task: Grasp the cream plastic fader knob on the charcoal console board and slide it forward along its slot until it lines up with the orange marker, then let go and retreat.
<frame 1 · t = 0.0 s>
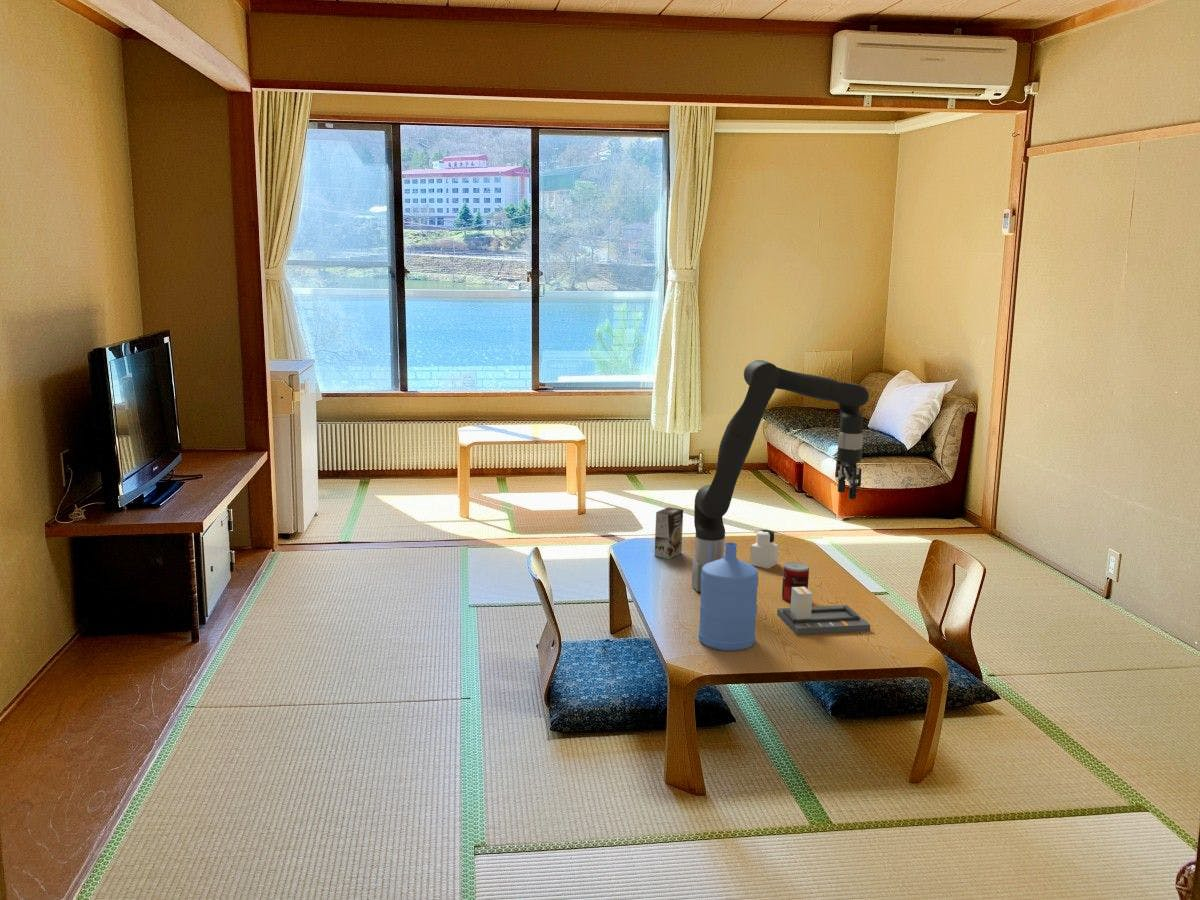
hand: (846, 495, 324), 29 cm above the table, fingers open, 8 cm apart
coffee box: (668, 555, 356), on the table
fader: (801, 603, 292), point 6 cm above the table, slide at 0.0 cm
canned food: (794, 599, 314), on the table
medicine bottle: (763, 565, 347), on the table
water jug: (726, 641, 280), on the table
console: (822, 622, 295), on the table
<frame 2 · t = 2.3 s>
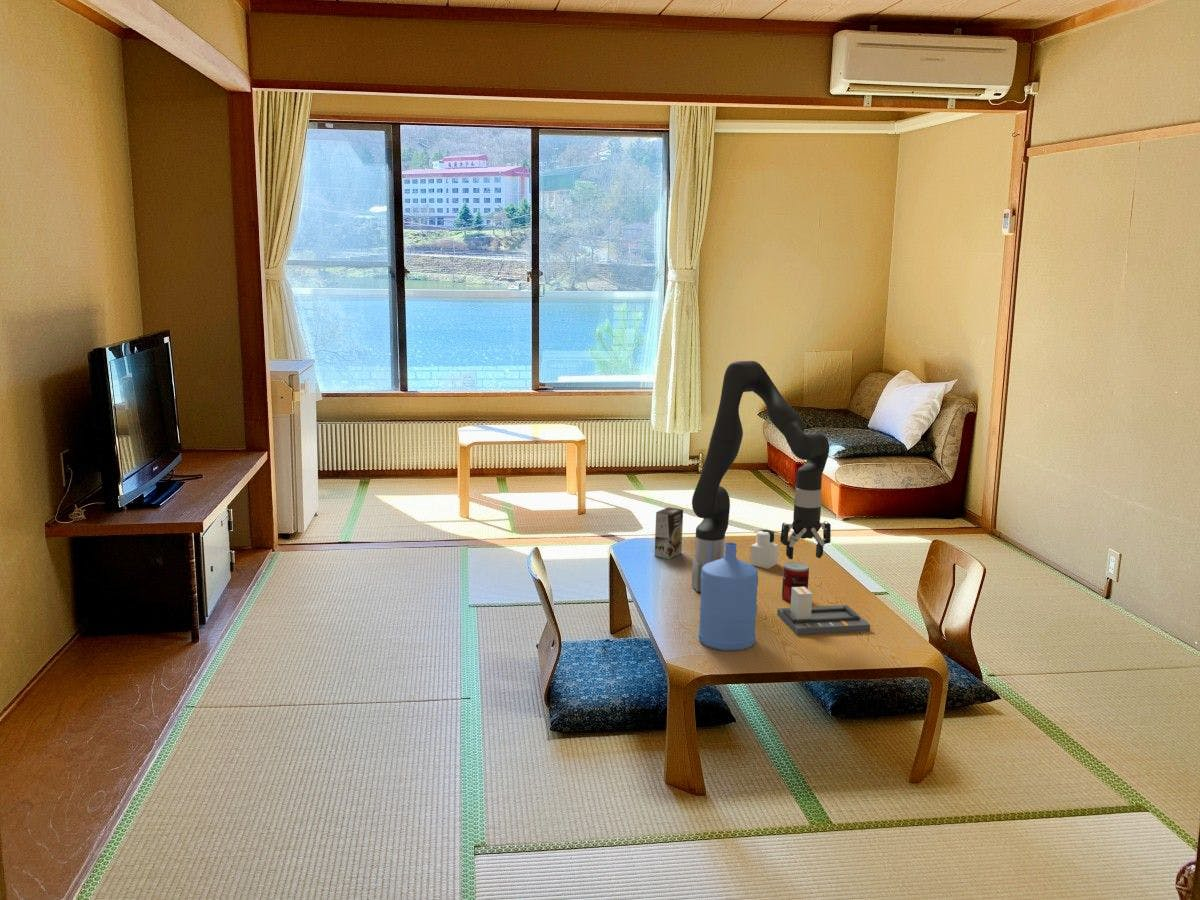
hand: (804, 558, 289), 20 cm above the table, fingers open, 8 cm apart
nothing on the table moved.
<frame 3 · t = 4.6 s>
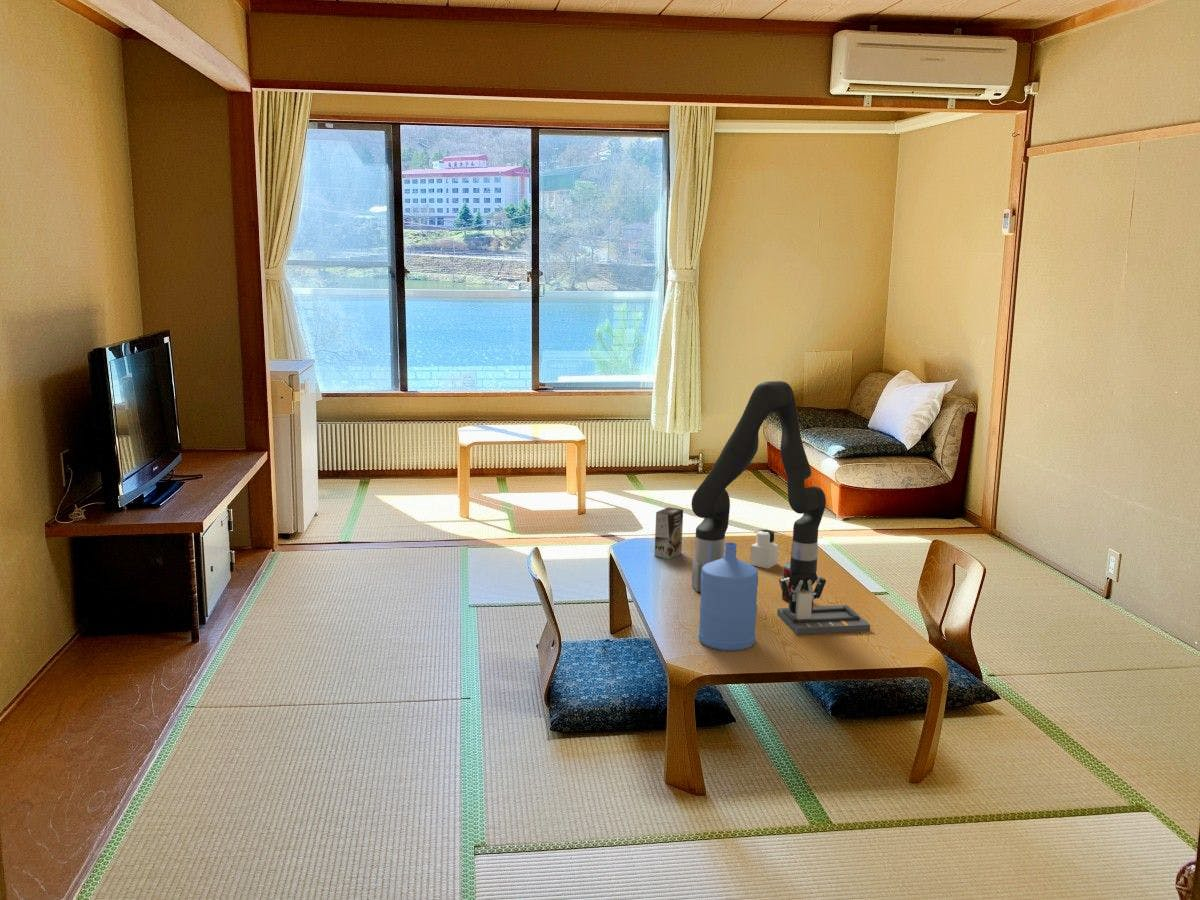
hand: (800, 611, 293), 4 cm above the table, fingers closed on fader, 4 cm apart
fader: (801, 603, 292), point 6 cm above the table, slide at 0.0 cm, touching gripper
everything else where it was.
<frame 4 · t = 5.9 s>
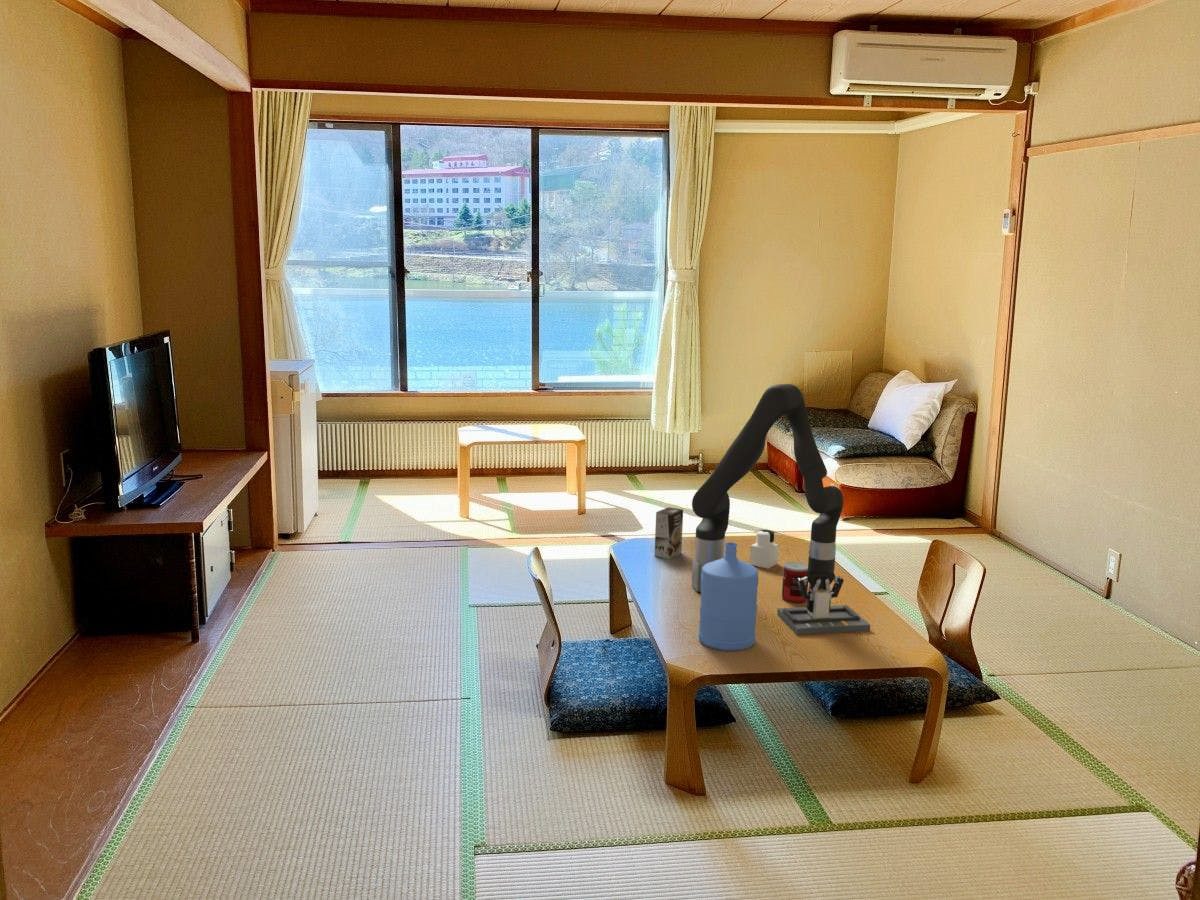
hand: (818, 610, 294), 4 cm above the table, fingers closed on fader, 4 cm apart
fader: (818, 602, 293), point 6 cm above the table, slide at 5.4 cm, touching gripper
everything else where it was.
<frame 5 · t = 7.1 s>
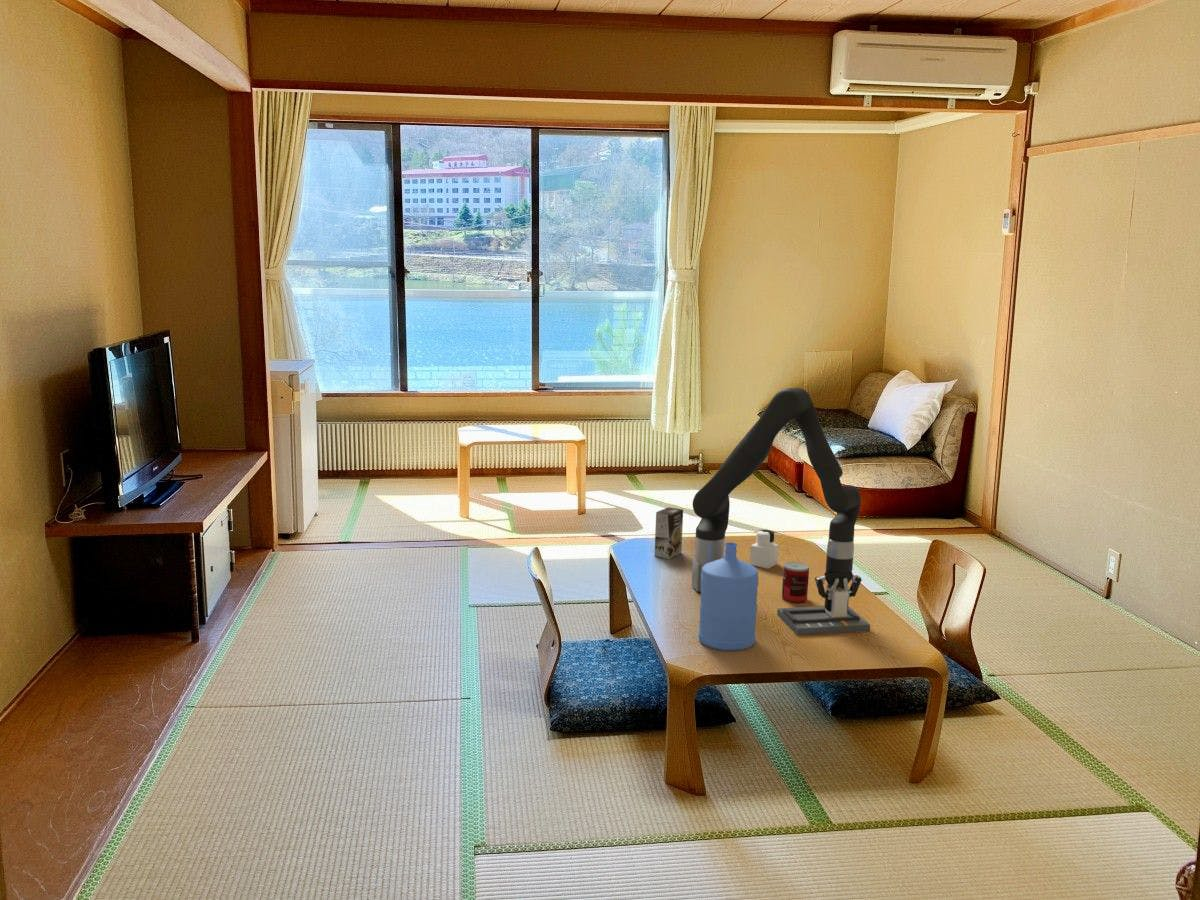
hand: (836, 609, 295), 4 cm above the table, fingers closed on fader, 4 cm apart
fader: (836, 601, 294), point 6 cm above the table, slide at 10.9 cm, touching gripper
everything else where it was.
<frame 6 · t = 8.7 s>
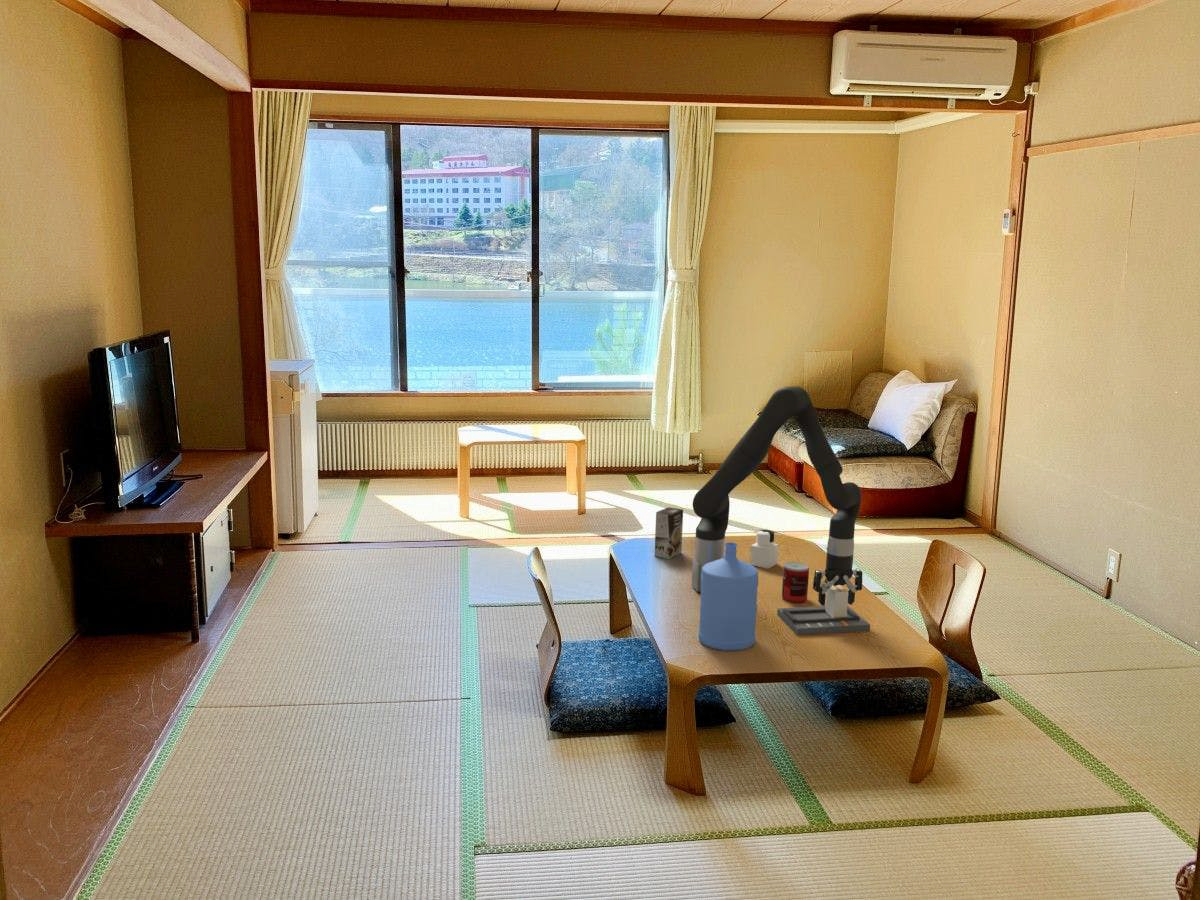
hand: (836, 604, 294), 5 cm above the table, fingers open, 8 cm apart
fader: (836, 601, 294), point 6 cm above the table, slide at 10.9 cm
everything else where it was.
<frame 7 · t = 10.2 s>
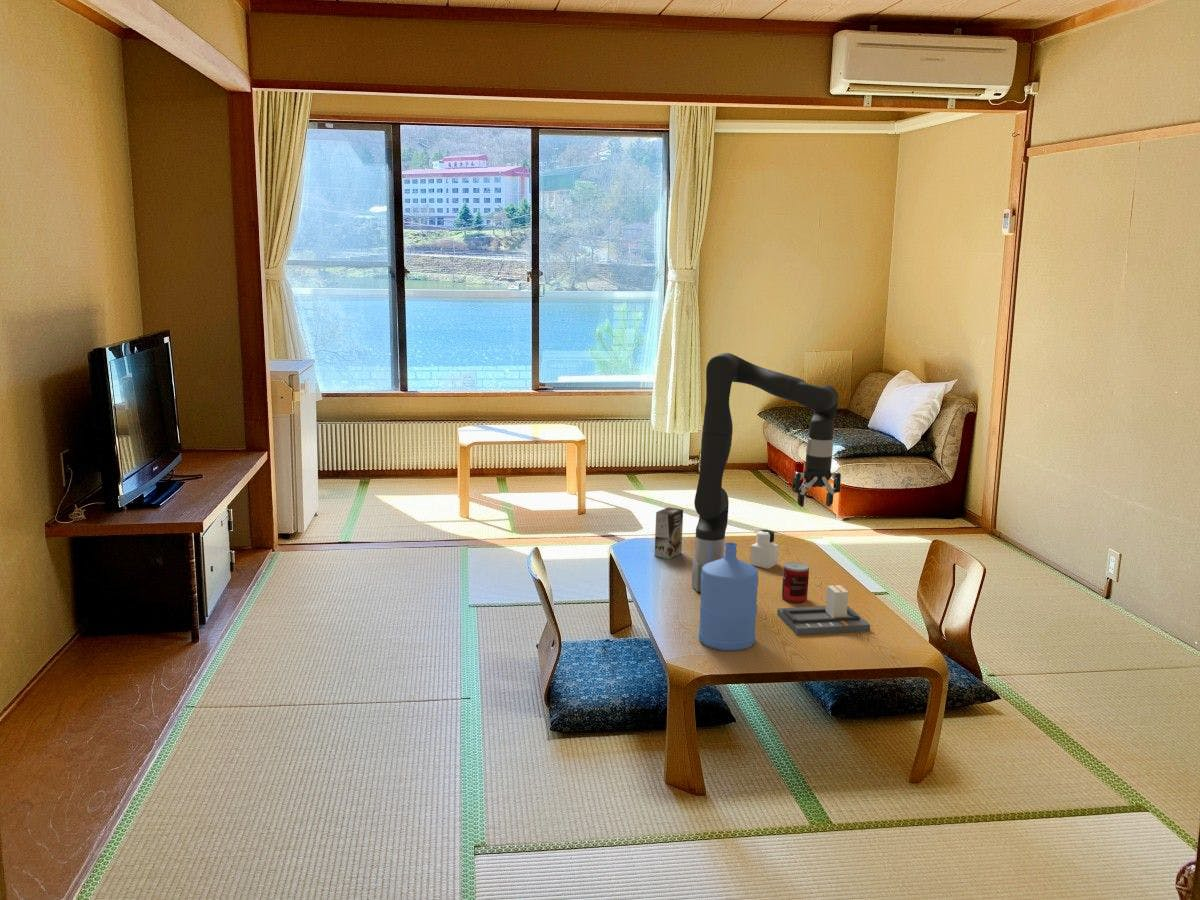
hand: (814, 506, 301), 32 cm above the table, fingers open, 8 cm apart
nothing on the table moved.
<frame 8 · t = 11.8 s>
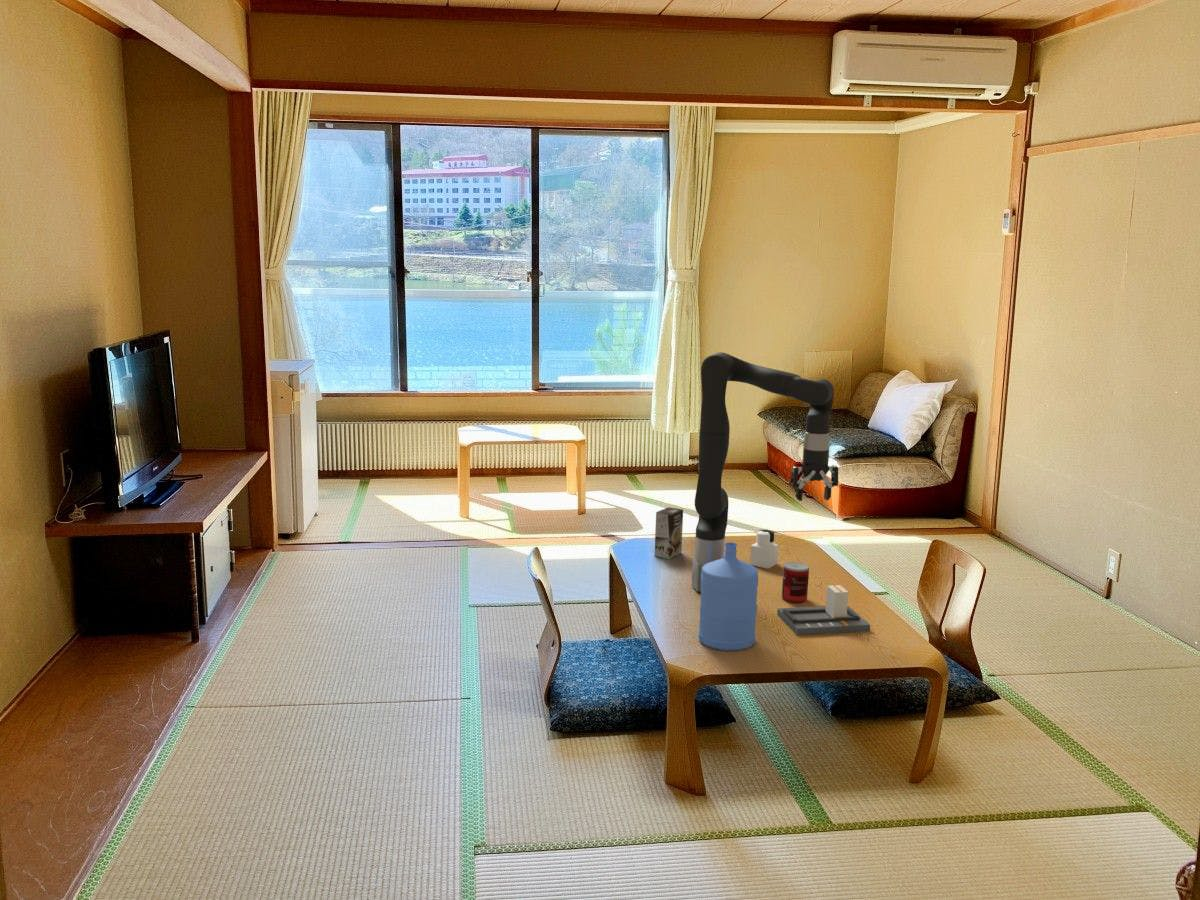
hand: (813, 500, 302), 33 cm above the table, fingers open, 8 cm apart
nothing on the table moved.
at the end: fader slide at 10.9 cm; the gripper is holding nothing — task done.
